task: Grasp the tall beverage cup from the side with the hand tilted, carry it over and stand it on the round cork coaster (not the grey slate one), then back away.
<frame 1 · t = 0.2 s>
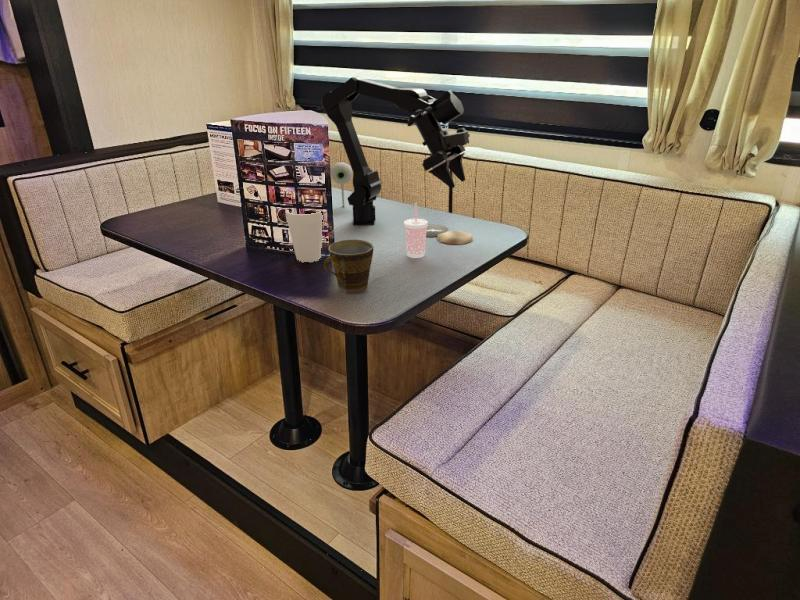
hand: (458, 184, 150), 15 cm above the table, tool tilted 30°, fingers open, 9 cm apart
slate coaster: (431, 231, 160), on the table
lollipop: (343, 207, 185), on the table
foam cup: (309, 258, 141), on the table
ceramic cup: (348, 290, 123), on the table
cork coaster: (454, 238, 154), on the table
beverage cup: (415, 255, 143), on the table
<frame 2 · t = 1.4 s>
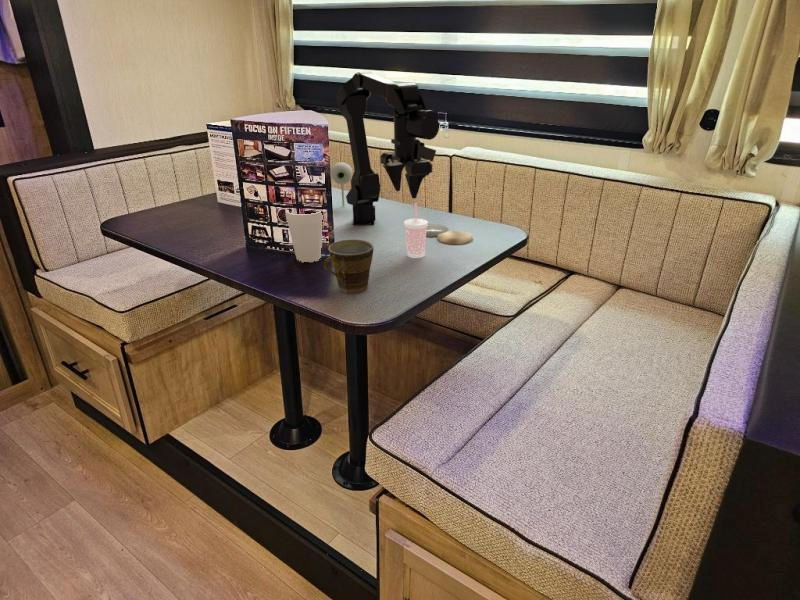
hand: (405, 194, 148), 13 cm above the table, tool pointing down, fingers open, 9 cm apart
nothing on the table moved.
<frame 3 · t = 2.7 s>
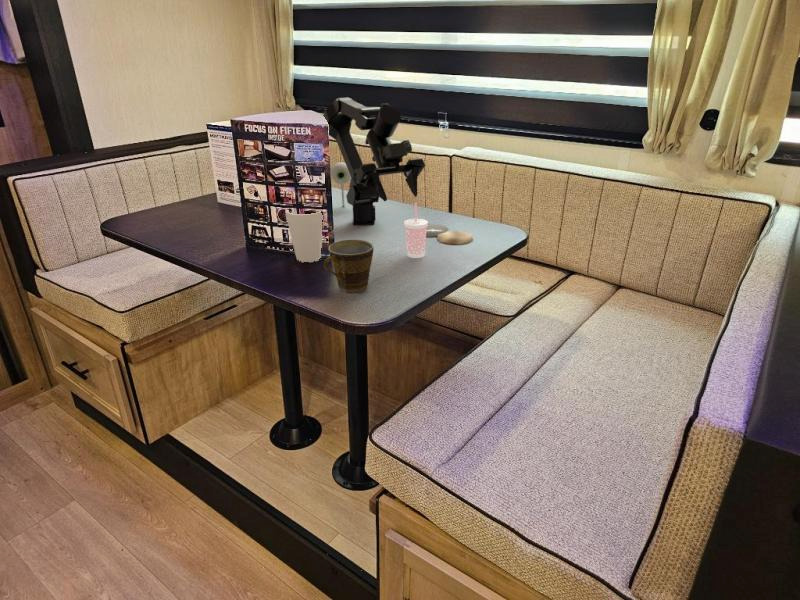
hand: (401, 198, 143), 13 cm above the table, tool tilted 45°, fingers open, 9 cm apart
nothing on the table moved.
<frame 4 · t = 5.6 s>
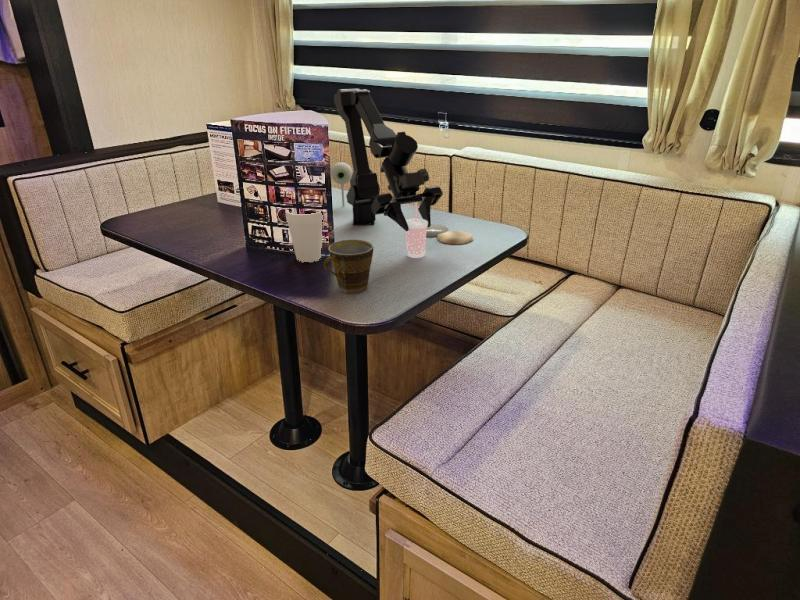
hand: (418, 228, 138), 8 cm above the table, tool tilted 45°, fingers closed on beverage cup, 6 cm apart
beverage cup: (415, 255, 143), on the table, touching gripper
everything else where it was.
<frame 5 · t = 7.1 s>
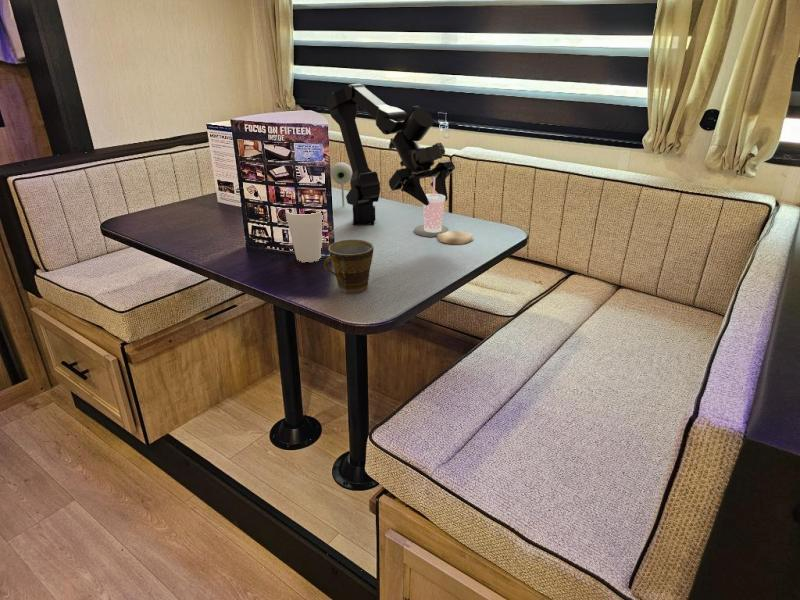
hand: (437, 202, 139), 13 cm above the table, tool tilted 45°, fingers closed on beverage cup, 6 cm apart
beverage cup: (432, 230, 144), point 5 cm above the table, touching gripper
everything else where it was.
when the fingers open (9 cm above the table, at t = 8.9 s): beverage cup stays where it is, resting on cork coaster.
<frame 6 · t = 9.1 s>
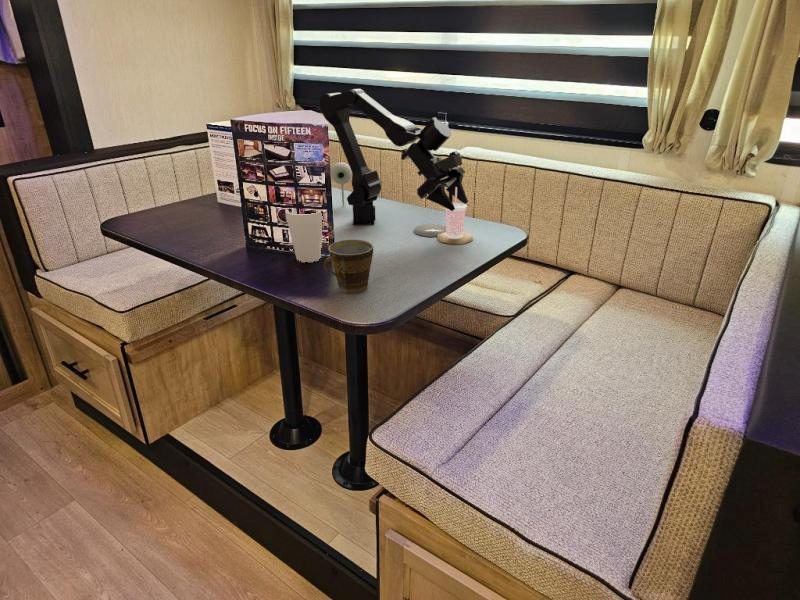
hand: (460, 206, 149), 10 cm above the table, tool tilted 45°, fingers open, 8 cm apart
beverage cup: (454, 236, 154), resting on cork coaster
everything else where it was.
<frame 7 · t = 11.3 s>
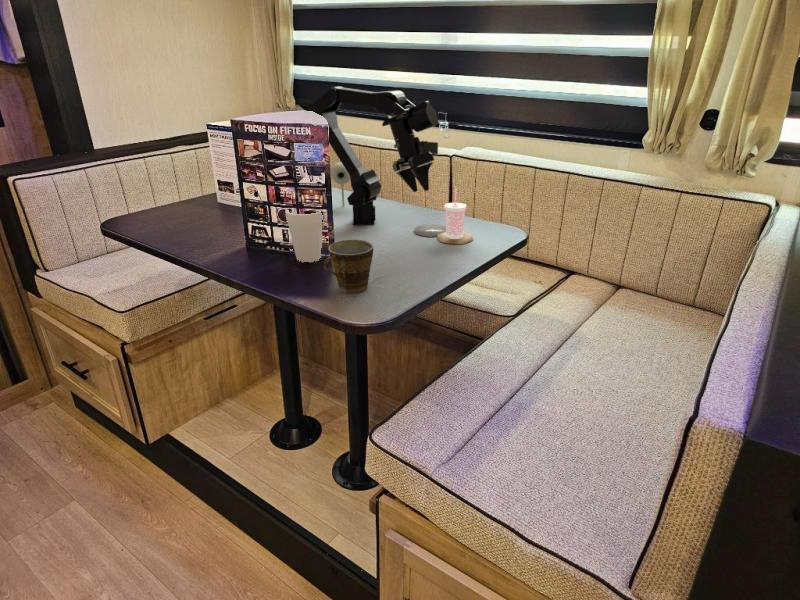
hand: (421, 191, 155), 12 cm above the table, tool tilted 20°, fingers open, 9 cm apart
nothing on the table moved.
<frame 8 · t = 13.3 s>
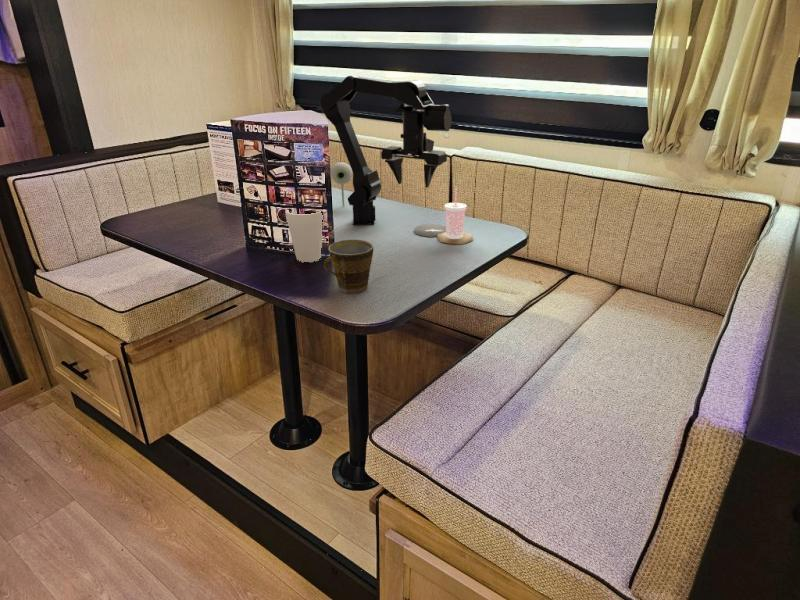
hand: (413, 185, 157), 13 cm above the table, tool pointing down, fingers open, 9 cm apart
nothing on the table moved.
at the end: beverage cup 0.1 cm from the cork coaster (horizontally); beverage cup tilted 0°; the gripper is holding nothing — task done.
